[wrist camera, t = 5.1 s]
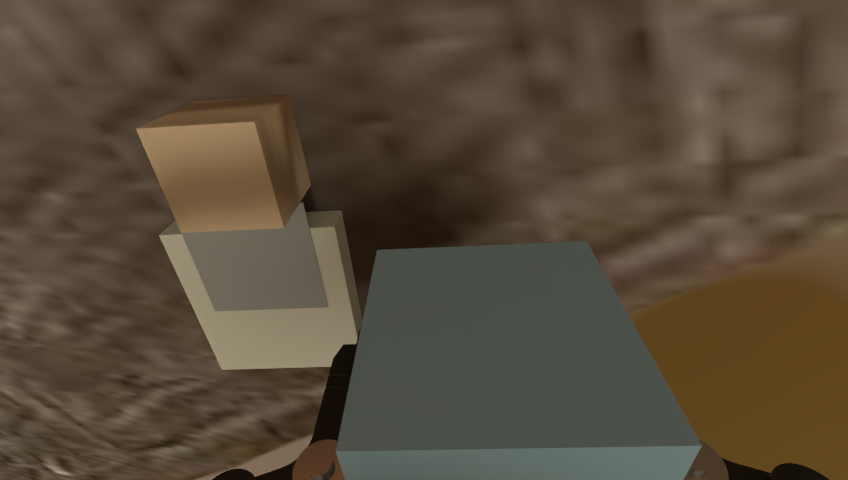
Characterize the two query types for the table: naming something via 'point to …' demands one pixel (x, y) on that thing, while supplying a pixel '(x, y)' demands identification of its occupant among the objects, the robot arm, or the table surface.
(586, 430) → the cube
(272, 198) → the oak block
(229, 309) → the foundation board
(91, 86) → the table surface
